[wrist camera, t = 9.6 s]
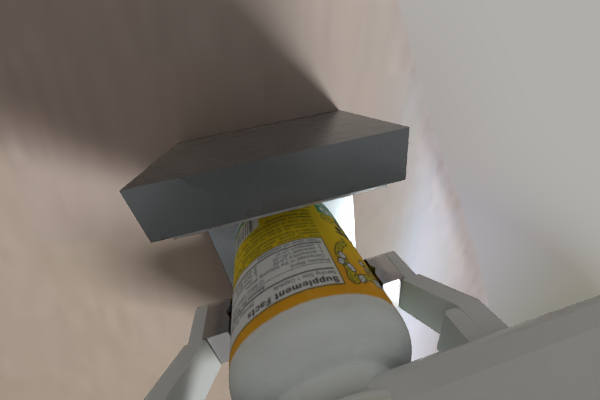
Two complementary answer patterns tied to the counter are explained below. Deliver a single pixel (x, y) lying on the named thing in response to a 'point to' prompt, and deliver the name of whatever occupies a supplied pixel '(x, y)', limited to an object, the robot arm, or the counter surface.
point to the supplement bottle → (308, 313)
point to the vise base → (266, 176)
